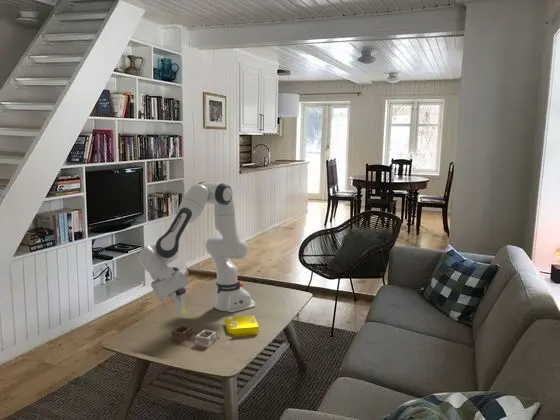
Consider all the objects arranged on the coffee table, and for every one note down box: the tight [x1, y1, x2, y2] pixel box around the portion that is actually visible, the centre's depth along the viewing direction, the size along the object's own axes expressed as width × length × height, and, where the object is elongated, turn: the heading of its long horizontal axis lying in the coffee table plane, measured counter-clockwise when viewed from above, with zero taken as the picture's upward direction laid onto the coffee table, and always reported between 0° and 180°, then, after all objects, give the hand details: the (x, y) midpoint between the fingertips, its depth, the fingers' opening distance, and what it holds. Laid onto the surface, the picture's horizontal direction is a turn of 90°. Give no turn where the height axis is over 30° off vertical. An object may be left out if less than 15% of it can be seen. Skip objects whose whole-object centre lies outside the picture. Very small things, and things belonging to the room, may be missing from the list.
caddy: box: [166, 325, 221, 351], centre depth 214 cm, size 14×20×6 cm
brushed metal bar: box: [175, 288, 187, 315], centre depth 214 cm, size 4×2×11 cm, turn 158°
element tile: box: [224, 314, 260, 338], centre depth 229 cm, size 15×15×5 cm
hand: (182, 299), depth 214 cm, fingers closed on brushed metal bar, 4 cm apart
